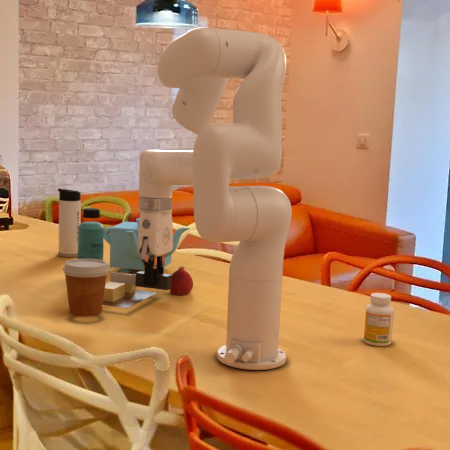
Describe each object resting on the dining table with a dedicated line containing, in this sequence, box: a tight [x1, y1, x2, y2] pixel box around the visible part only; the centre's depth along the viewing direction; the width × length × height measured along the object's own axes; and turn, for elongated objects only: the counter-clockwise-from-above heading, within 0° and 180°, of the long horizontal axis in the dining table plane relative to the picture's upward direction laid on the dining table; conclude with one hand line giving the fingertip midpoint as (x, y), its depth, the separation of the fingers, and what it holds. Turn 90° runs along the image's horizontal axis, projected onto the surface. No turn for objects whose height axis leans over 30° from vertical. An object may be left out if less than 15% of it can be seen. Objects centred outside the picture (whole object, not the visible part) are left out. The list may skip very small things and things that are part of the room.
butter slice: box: [125, 284, 137, 293], centre depth 175 cm, size 2×4×3 cm, turn 71°
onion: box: [169, 265, 194, 296], centre depth 176 cm, size 6×6×8 cm
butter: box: [103, 281, 125, 302], centre depth 168 cm, size 6×4×3 cm, turn 161°
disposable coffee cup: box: [62, 258, 110, 317], centre depth 156 cm, size 10×10×12 cm
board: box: [102, 289, 158, 309], centre depth 170 cm, size 16×12×2 cm
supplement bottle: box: [363, 292, 394, 347], centre depth 148 cm, size 5×5×10 cm
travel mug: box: [57, 188, 82, 258], centre depth 220 cm, size 6×7×20 cm
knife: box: [109, 270, 172, 291], centre depth 172 cm, size 15×2×3 cm, turn 71°
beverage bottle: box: [76, 207, 105, 261], centre depth 180 cm, size 6×7×20 cm
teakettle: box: [103, 217, 191, 274], centre depth 203 cm, size 19×19×15 cm
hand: (153, 283), depth 171 cm, fingers closed on knife, 2 cm apart
